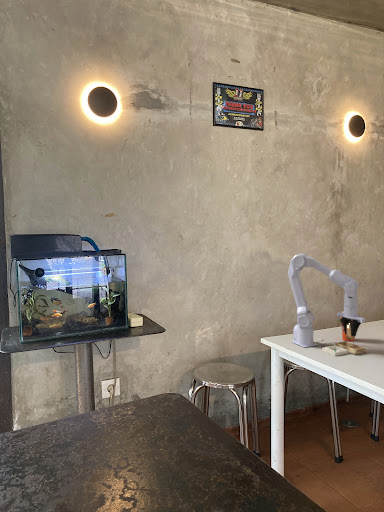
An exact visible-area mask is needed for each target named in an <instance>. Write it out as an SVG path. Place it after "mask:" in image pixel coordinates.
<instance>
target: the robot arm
mask: <svg viewBox="0 0 384 512" xmlns="http://www.w3.org/2000/svg"><path fill="white" fill-rule="evenodd" d="M304 268H313V269H315V270H317V271H319V272H320V273H322V274H324V275H326V276H327V277H328V280H329V281H331V282H332V283H333V284H335V285H337V286H339V287H340V288H343V290H344V295H343V311H344V313H343V311H339V312H336V317H338V318H339V317H340V319H339V322H340V323H341V326H342V325H343V328H344V332H345V334H347V324H348V323H350V327H351V336H355V337H356V336H357V333H358V330H359V327H360V326H361V325H362V324H363V323H366V318H364V317H362V316H361V315H359V314H358V307H359V305H358V304H359V301H358V298H359V296H358V293H359V292H358V289H359V283H358V281H357V280H356V279H355V278H352V277H351V276H350V275H349V276H348V275H346V274H344V273H343V272H342V270H341V269H331V268H329V267H328V266H326V265H325V264H324V263H322V262H321V261H319V260H317V259H316V258H314V257H313V256H310V255H307V253H303V252H301V253H299V254H296V255H294V256H293V257H292V258H291V259H290V261H289V266H288V270H287V277H288V279H289V280H288V281H289V283H290V287H291V291H292V294H293V297H294V301H295V305H296V308H297V309H296V316H297V319H296V321H297V324H295V325H294V327H293V329H292V330H293V331H292V333H293V337H292V338H293V340H292V341H291V343H293V344H295V345H298V346H300V347H302V348H308V347H314V346H318V344H317V343H316V342H314V324H313V322H314V320H315V316H314V313H313V312H312V311H311V308H310V307H309V305H308V303H307V299H306V296H305V291H304V287H303V284H302V281H301V277H300V273H301V271H302V270H303V269H304ZM341 317H342V319H341ZM351 320H353V321H351Z"/></svg>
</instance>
